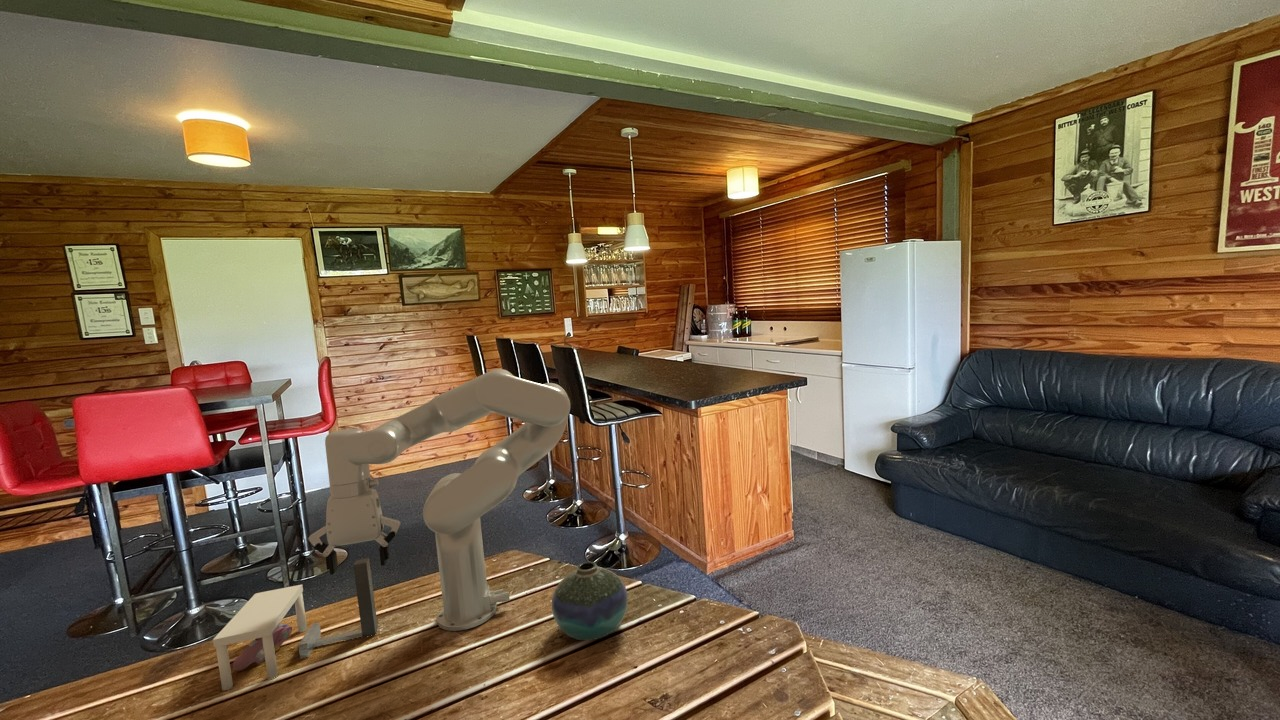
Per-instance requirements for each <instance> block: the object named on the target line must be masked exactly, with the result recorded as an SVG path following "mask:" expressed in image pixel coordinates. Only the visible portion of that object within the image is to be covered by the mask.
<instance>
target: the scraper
mask: <svg viewBox="0 0 1280 720" xmlns="http://www.w3.org/2000/svg"><path fill="white" fill-rule="evenodd" d="M370 563H371V562H370V558H369V557H367V558H362V559H361V558H360V559H355V562H354V563H353V573H354V582H355V589H356V597H357V605H358V612H359V613H358V614H359V620H360V621H359V622H360V629H357V630H356V629H355V630H353V631H347V632H343V633H339V634H334V635H329V636H325V637H322V631H321V625H320V624H321V623H320V622H315V623H314V622H313V623H311V624H310V626H309V627H308V628H307V630H306V631H305V633H304V635H303V637H302V639H301V640H300V642H299V643H298V650H299V651H298V654H299V659H300V660H302V658H304V659H307V658H306V657H308V658H310V656H311V654H312V653H311V651H312V650H313V651H314V649H315V648H314V647H316V646H319V645H323V644H327V643H332V642H335V641H340V640H348V639H352V638H357V637H361V636H362V637H361V638H363V637H367V636H371V635H375V634H376V635H377V633H376V632H378V631H377V629H378V630H379V626H378V619H377V617H378V616H377V610H376V604H375V603H376V601H375V595H374V587H373V579H372V570H371V564H370ZM376 635H375V636H376ZM320 636H321V637H320ZM371 637H372V636H371ZM319 638H320V639H319ZM367 638H368V637H367ZM357 639H358V638H357ZM352 640H353V639H352ZM348 641H349V640H348ZM313 648H314V649H313ZM313 651H312V652H313ZM310 653H311V654H310ZM309 655H310V656H309Z"/></svg>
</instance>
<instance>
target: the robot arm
mask: <svg viewBox="0 0 1280 720" xmlns="http://www.w3.org/2000/svg"><path fill="white" fill-rule="evenodd" d="M570 411H571V400H570V398H569V396H568V393H567V392H566V390H565V389H564V388H563V387H562V386H560V385H559V384H557V383H553V382H545V383H543V384H542V383H538V382H534V381H531V380H527V379H524V378H520V377H518V376H515V375H514V374H512V373H511V372H510V371H508V370H507V369H503V368H496V369H495V368H494V369H491V370H489V371H487V372H484V373H483V374H480V375H479V376H477V377H474V378H473V379H471V380H468V381H466V382H464V383H461V384H460V385H458V386H456V387H453V388H452V389H449V390H447V391H445V392H443V393H441V394H439V395H437V396H435V397H433V398H432V399H431V400H429V401H428V402H426V403H423V404H421V405H420V406H417V407H416V408H414V409H411V410H408V411H407V412H405V413H403V414H401V415H399V416H397V417H394V418H392V419H390V420H388V421H386V422H384V423H383V424H381V425H379V426H377V427H376V428H372V429H370V430H366V431H364V430H362V428H346V429H341V430H339V429H338V430H336V431H331V432H330V433H328V434H327V435H326V436H325V438H324V445H325V453H326V463H327V474H328V483H329V491H330V496H329V497H328V498H327V503H326V512H325V513H326V515H325V517H326V518H325V519H326V521H325V525H324V526H323V527H321V528H320V529H318V530H316V531H314V533H311V534H310V535H309V537H308V541H309V542H310V544H311V545H312V546H313V547H314V550H316V551H318V552H319V553H321V554H322V557H324V558H325V564H326V570H327V571H329V575H330V576H331V575H332V576H333V575H334V574H335V573H336V572H337V570H338V569H339V564H338V556H337V551H336V550H334V549H335V547H338V546H346V545H352V544H353V545H354V544H359V543H364V542H365V543H366V542H369V541H376V543H378V544H379V545H380V546H379V549H378V550H379V561H380V565H381V566H382V567H383V566H386V563H387V561H388V560H390V558H391V557H390V545H389V544H390V542H391V541H392V540H393V539H394V538H395V537H396V535H397V532H398V530H399V527H400V526H401V521H400V520H397V519H394V518H391V517H388V516H387V517H386V516H383V511H382V506H381V502H380V497H379V494H378V492H377V490H376V489H373V488H374V487H376V486H377V487H378V486H379V485H380V483H379V479H373V478H372V476H371V470H370V465H385V464H389V463H391V462H393V461H395V460H396V459H397V458H398V457H399V456H400V455H401V454H402V453H404V452H405V451H406V450H408V449H410V448H411V447H413V446H415V445H417V444H419V443H422V442H424V441H426V440H429V439H430V438H433V437H435V436H437V435H439V434H442V433H451V432H455V431H458V430H460V429H462V428H464V427H467V426H468V425H471V424H473V423H475V422H476V421H478V420H480V419H482V418H485V417H486V416H489V415H491V414H496V415H500V416H503V417H506V418H510V419H513V420H518V421H521V422H525V423H523V425H521V426H520V427H519V428H518V429H517V428H516V429H515V431H513V432H512V433H511V434H509V435H508V436H506V437H505V438H504V439H501V440H500V441H498V443H496V444H494V445H493V446H491V447H490V448H489V447H488V449H486V450H483V452H482V453H481V454H480V455H478V457H477V458H476V460H475V462H474V464H473V465H471V466H470V467H469V468H468V469H466V470H465V471H463V472H462V473H461V472H460V473H459V472H454V473H450V474H447V475H445V476H444V477H442V478H440V479H439V480H438V481H437V482H436V484H435V485H434V487H433V488H432V490H431V492H430V493H429V495H428V496H427V498H426V501H424V502H425V503H424V506H423V509H422V510H423V511H422V515H423V516H422V517H423V520H424V523H425V525H426V526H427V528H428V529H429V530H431V531H432V532H434V533H435V544H436V553H437V554H436V555H437V562H438V564H437V565H438V570H439V571H438V573H439V581H440V591H441V597H442V605H443V608H441V610H440V611H439V612H438V614H437V616H436V621H437V625H438V627H439V628H440V629H442V630H445V631H449V632H450V631H451V632H457V631H458V632H459V631H465V630H469V629H473V628H475V627H477V626H480V625H482V624H484V623H485V622H487V621H489V620H490V619H491V618H492V617H493V616H494V615H495V613H496V611H497V609H498V605H497V604H498V603H504V602H505V603H506V602H508V601H511V600H510V599H511V597H510V592H509V590H508V591H504V588H500V589H497V590H493V589H490V584H488V582H487V571H486V570H487V569H486V563H485V553H484V545H483V541H484V540H483V535H482V532H483V531H482V524H481V517H482V516H484V515H485V514H487V513H488V512H490V511H491V510H492V509H494V508H495V507H496V506H498V505H499V504H500V503H502V502H503V501H505V499H507V498H508V497H509V496H510V494H512V492H513V491H514V489H515V488H516V485H517V484H518V483H517V482H518V478H519V477H520V476H521V475H522V474H523V473H524V472H526V471H527V470H528V469H530V468H531V467H533V466H534V465H535V464H536V463H537V462H539V461H540V460H542V459H543V458H544V457H545V456H547V455H548V454H549V453H550V452H551V451H552V450H553V449H554V448H555V447H556V446H557V444H558V443H559V441H560V440H561V438H562V437H563V435H564V432H565V429H566V427H567V423H568V419H569V415H570ZM385 526H387V527H390V528H391V529H390V531H389V533H388V534H386V533H384V532H383V531H384V527H385ZM324 535H326V541H327V543H325V542H324V541H322V540H321V539H320V538H321V537H322V536H324Z"/></svg>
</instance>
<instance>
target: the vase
mask: <svg viewBox="0 0 1280 720" xmlns="http://www.w3.org/2000/svg"><path fill="white" fill-rule="evenodd" d="M628 599H629V598H628V590H627V588H626V584H625V583H624V581H623V580H622V578H621V577H620V576H619V575H617V574H616V573H615V572H613V571H612V570H609V569H607V568H604V567H601V566H598V565H597V563H595V562H593V561H584V562H581V563H580V564H578V565H577V566H576V569H575V570H573V571H571V572H570V573H569V574H568V575H566V576H565V577H564V578H563V579H561V580H560V582H559V583H558V584H557V586H556V587H555V589H554V592H553V594H552V599H551V612H552V615H553V618H554V621H555V623H556V624H557V626H558V628H559V629H560V630H561V631H562V632H563V633H564V634H565V635H567V636H568V637H570V638H573V639H576V640H579V641H594V640H598V639H601V638H604V637H606V636H608V635H610V634H612V633H613V632H614V631H615V630H616V629H617V628H618V627H620V625H621V623H622V621H623V620H624V617H625V616H626V612H627V610H628V609H627V608H628V604H629V602H628V601H629V600H628Z"/></svg>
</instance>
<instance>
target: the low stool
mask: <svg viewBox="0 0 1280 720" xmlns="http://www.w3.org/2000/svg"><path fill="white" fill-rule="evenodd" d="M303 592H304V588H303V584H298V585H293V586H292V585H291V586H287V587H281V588H277V589H272V590H267V591H261V592H257V593H254V594H253V595H252V597H251V598H250V599H249V600H248V601H247V602H246V603H245V604H244V605H243V606H242V607H241V609H239V611H238V612H236V614H235V615H234V616H233V617H232V618H231V619H230V620H229V621H228V622H227V624H226V625H225V626H224V627H223V628H222V629H221V630H220V631H219V632H218V634H216V636H214V638H213V639H212V643H213V648H215V649H216V657H217V658H216V659H217V664H218V665H217V666H218V671H219V678H220V684H221V690H222V692H224V691H227V690H230V689H232V688H233V686H234V683H233V678H232V670H231V664H230V662H231V661H230V657H229V650H228V645H233V644H236V643H242V642H246V641H253V640H255V639H256V638H261V637H262V641H263V648H264V655H265V659H264V661H265V668H266V676H267V680H268V679H271V678H274V677H276V676H277V675H278V676H279V671H278V665H277V657H276V652H275V649H274V642H273V635H272V632H273V631H274V630H275V628H276V627H277V626H278V624H279V623H282V620H283V619H284V618H285V616H286V615H287V613H288V612H289V611H290V609H291V608H292V607H293V605H294V608H295V616H296V617H295V618H296V623H297V630H298V631H297V632H298V633H304V632H307V630H308V627H307V626H308V625H307V619H306V618H307V617H306V611H305V603H304V596H303V595H304V594H303ZM278 676H277V677H278ZM277 677H276V678H277ZM274 679H275V678H274ZM271 680H272V679H271Z"/></svg>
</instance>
